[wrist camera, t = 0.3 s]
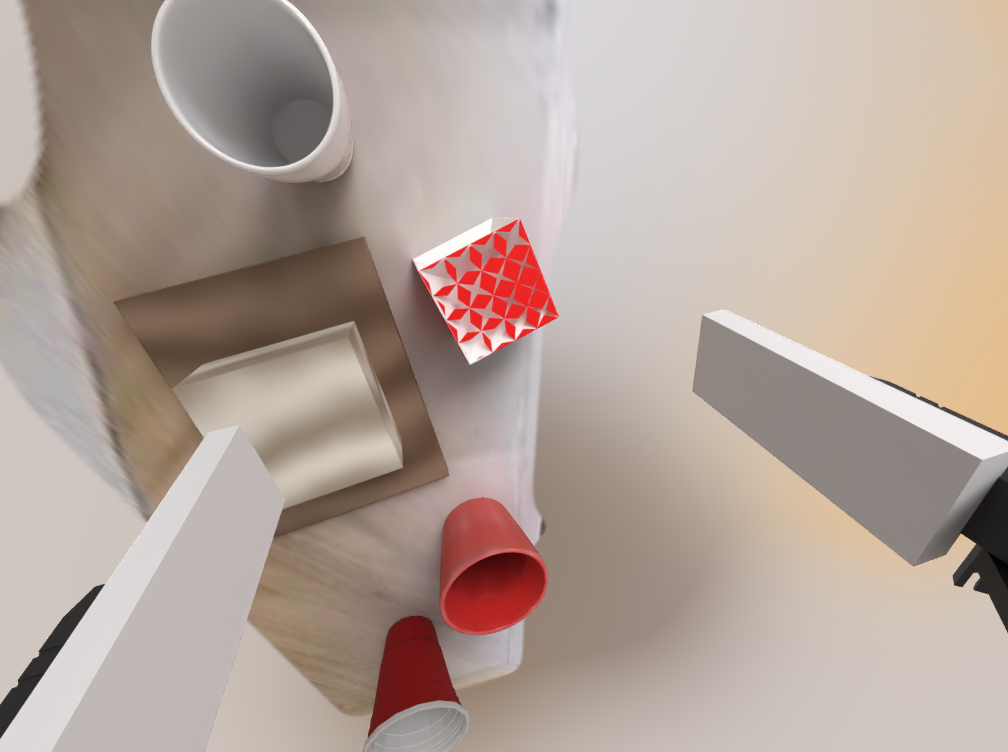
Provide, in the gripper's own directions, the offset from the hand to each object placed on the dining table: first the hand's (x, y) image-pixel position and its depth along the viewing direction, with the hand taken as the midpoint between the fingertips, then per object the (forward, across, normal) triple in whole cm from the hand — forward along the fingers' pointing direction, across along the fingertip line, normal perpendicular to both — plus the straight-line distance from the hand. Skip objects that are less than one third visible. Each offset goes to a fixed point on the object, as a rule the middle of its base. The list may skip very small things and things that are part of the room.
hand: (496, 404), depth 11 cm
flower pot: (+23, -2, -32) cm, 39 cm away
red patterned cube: (+26, +3, -4) cm, 27 cm away
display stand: (+24, -13, -11) cm, 30 cm away
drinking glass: (+27, -7, +8) cm, 29 cm away
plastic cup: (+21, -13, -45) cm, 51 cm away
